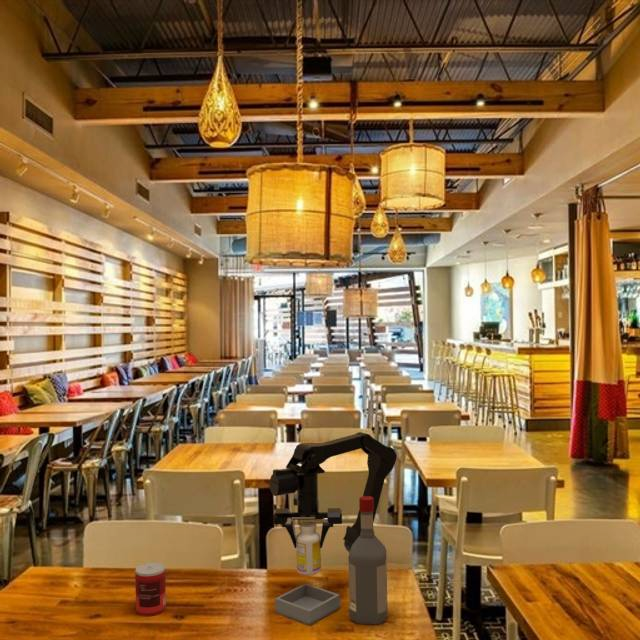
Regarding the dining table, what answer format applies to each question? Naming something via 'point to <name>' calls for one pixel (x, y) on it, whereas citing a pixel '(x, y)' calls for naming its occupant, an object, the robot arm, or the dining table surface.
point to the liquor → (367, 571)
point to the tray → (307, 603)
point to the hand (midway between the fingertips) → (308, 547)
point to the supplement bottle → (308, 549)
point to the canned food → (150, 589)
